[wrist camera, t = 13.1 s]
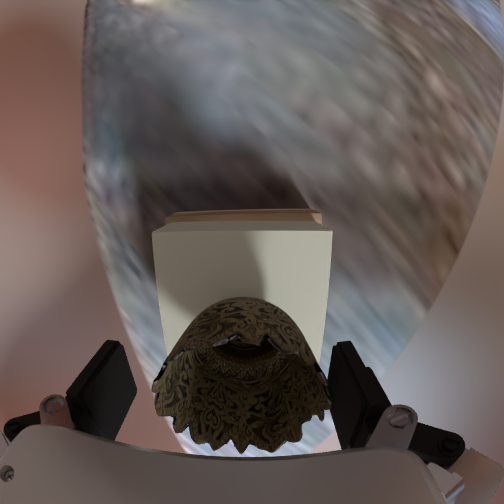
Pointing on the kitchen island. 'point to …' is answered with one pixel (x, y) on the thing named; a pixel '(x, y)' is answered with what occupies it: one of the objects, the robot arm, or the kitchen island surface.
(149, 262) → the kitchen island surface
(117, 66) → the kitchen island surface
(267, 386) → the dark brown tapered piece
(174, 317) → the tower top
